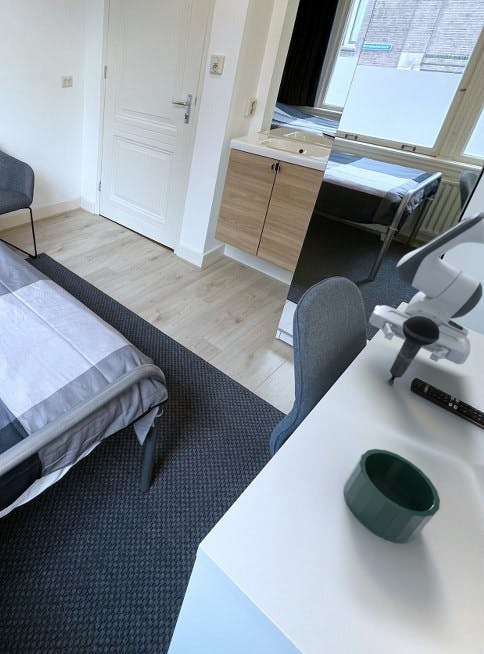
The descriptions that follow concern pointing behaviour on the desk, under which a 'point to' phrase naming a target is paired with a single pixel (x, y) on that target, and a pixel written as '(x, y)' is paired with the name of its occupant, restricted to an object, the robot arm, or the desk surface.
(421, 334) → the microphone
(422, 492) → the tin
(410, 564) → the desk surface
